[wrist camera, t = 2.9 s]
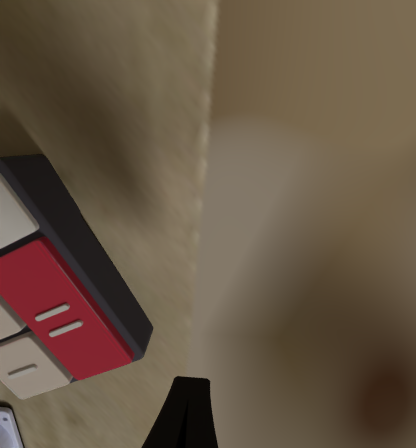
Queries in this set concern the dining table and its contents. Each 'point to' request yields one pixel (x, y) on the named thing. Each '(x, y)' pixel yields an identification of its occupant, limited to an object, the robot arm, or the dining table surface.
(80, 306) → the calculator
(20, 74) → the dining table surface
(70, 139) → the dining table surface
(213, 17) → the dining table surface
